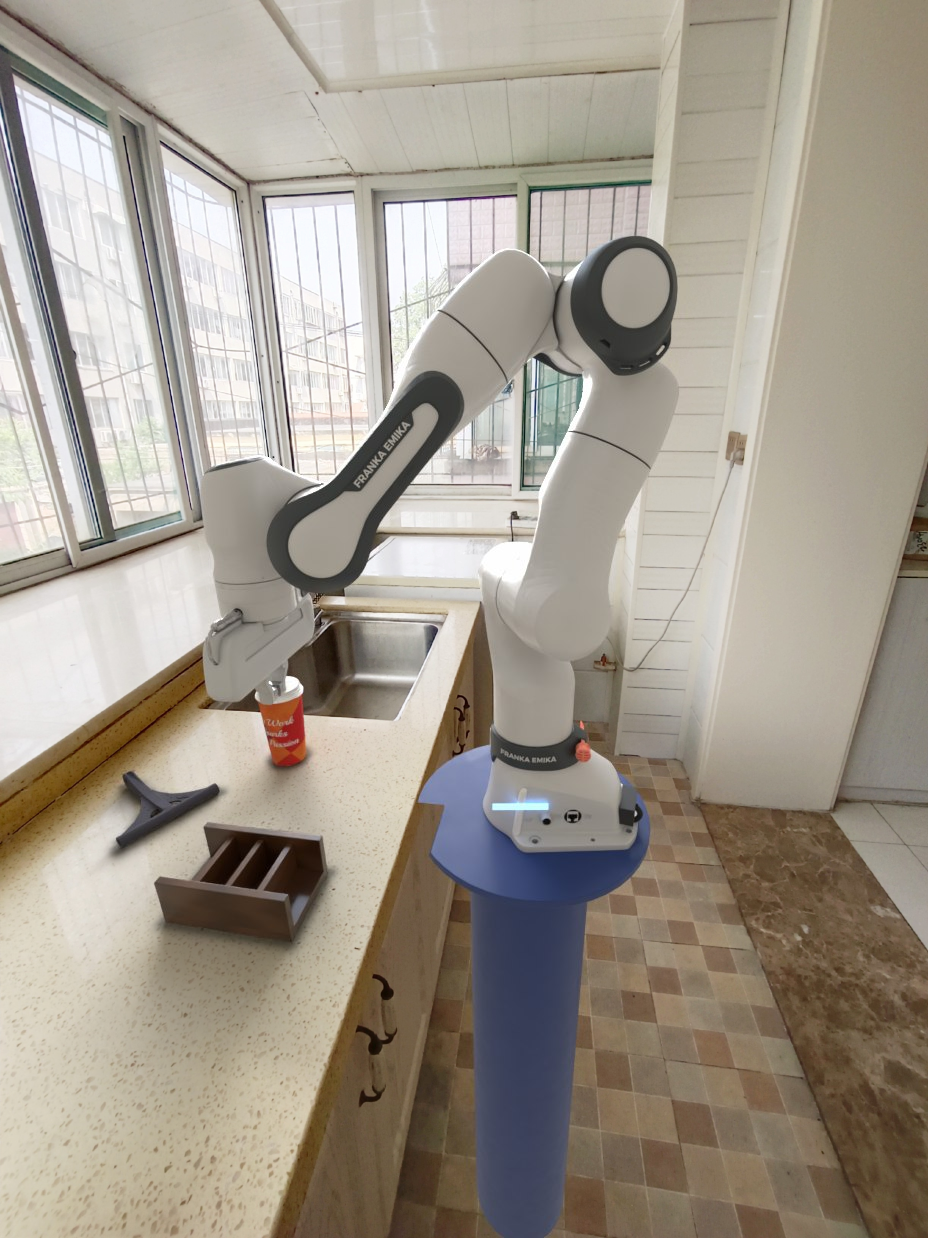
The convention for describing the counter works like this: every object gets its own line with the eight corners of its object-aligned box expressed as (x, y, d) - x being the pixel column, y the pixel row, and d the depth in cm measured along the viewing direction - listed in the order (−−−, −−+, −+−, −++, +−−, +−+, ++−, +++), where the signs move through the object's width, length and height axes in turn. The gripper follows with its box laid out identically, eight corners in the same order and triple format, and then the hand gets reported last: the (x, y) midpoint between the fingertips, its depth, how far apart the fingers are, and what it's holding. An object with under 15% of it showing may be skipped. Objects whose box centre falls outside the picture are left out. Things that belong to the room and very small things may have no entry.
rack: (328, 872, 70) (322, 835, 68) (291, 942, 61) (284, 901, 58) (216, 858, 73) (207, 821, 70) (165, 922, 63) (153, 883, 61)
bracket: (172, 761, 93) (169, 748, 92) (220, 793, 85) (217, 779, 84) (79, 809, 83) (74, 794, 82) (123, 851, 74) (118, 835, 73)
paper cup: (256, 765, 92) (243, 692, 87) (284, 741, 98) (273, 672, 94) (296, 774, 89) (284, 699, 84) (321, 748, 96) (312, 677, 91)
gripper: (231, 629, 55) (253, 745, 60) (317, 574, 74) (328, 666, 79) (177, 627, 56) (202, 740, 61) (275, 573, 75) (288, 663, 80)
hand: (274, 698), depth 70 cm, fingers closed
